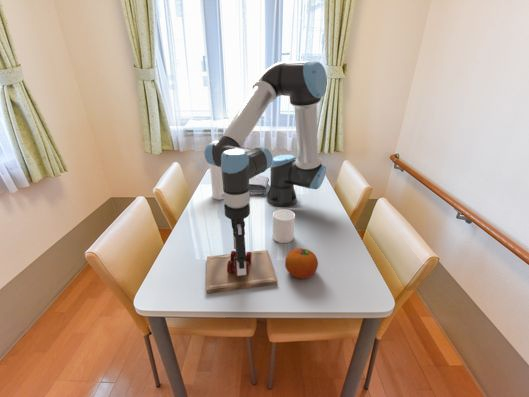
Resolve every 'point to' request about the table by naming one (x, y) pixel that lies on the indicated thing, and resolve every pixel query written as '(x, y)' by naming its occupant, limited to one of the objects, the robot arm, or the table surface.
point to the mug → (283, 226)
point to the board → (257, 277)
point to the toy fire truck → (233, 263)
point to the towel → (258, 185)
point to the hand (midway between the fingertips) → (239, 260)
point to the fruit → (301, 263)
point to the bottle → (216, 181)
